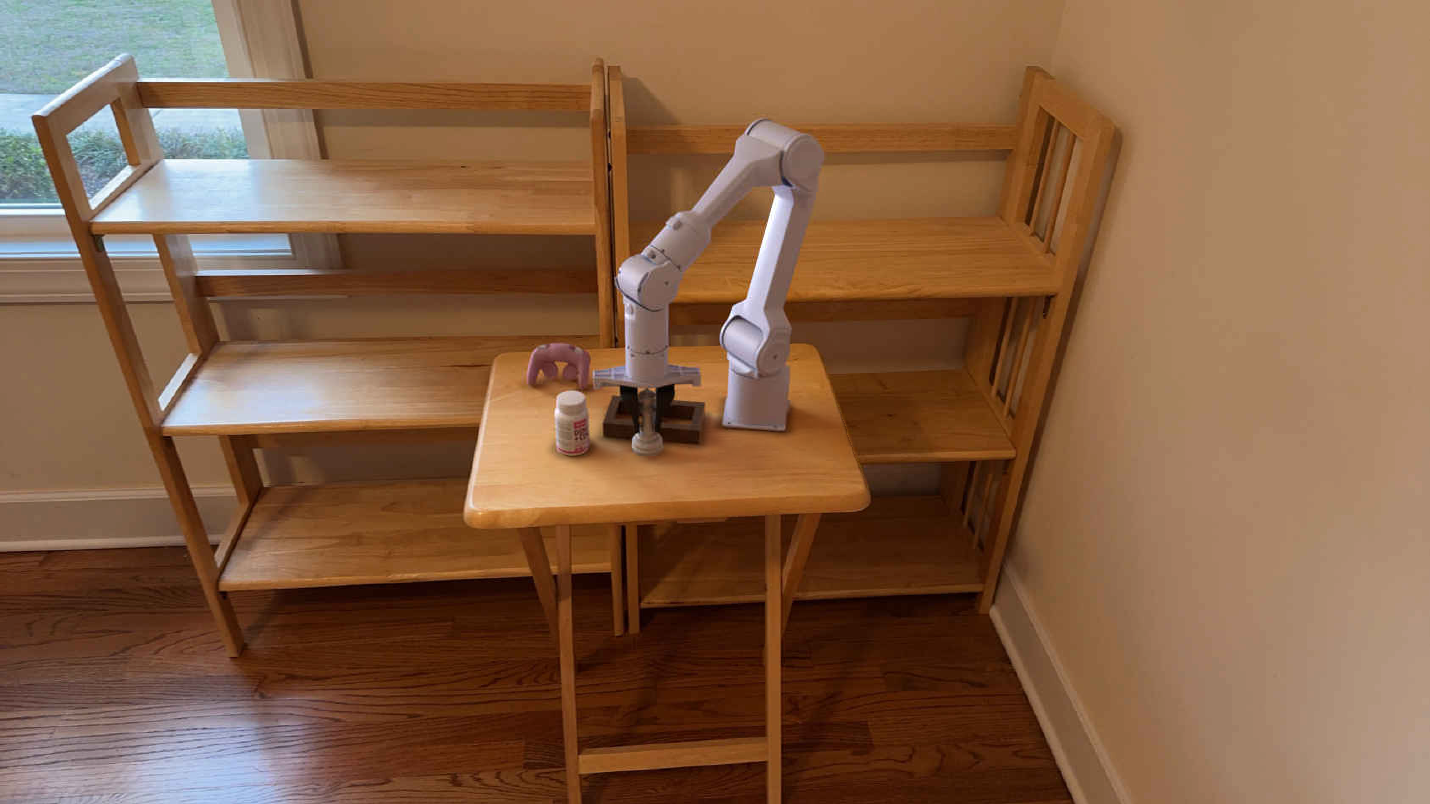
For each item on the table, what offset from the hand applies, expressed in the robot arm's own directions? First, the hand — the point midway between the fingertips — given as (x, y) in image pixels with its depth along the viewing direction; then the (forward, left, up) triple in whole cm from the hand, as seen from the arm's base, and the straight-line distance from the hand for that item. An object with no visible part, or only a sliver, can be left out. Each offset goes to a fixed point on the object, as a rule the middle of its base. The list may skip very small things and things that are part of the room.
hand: (647, 428), depth 134 cm
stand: (0, -8, -4) cm, 9 cm away
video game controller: (+17, -19, -5) cm, 26 cm away
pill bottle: (+11, 0, -5) cm, 12 cm away
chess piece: (0, 0, -4) cm, 4 cm away
